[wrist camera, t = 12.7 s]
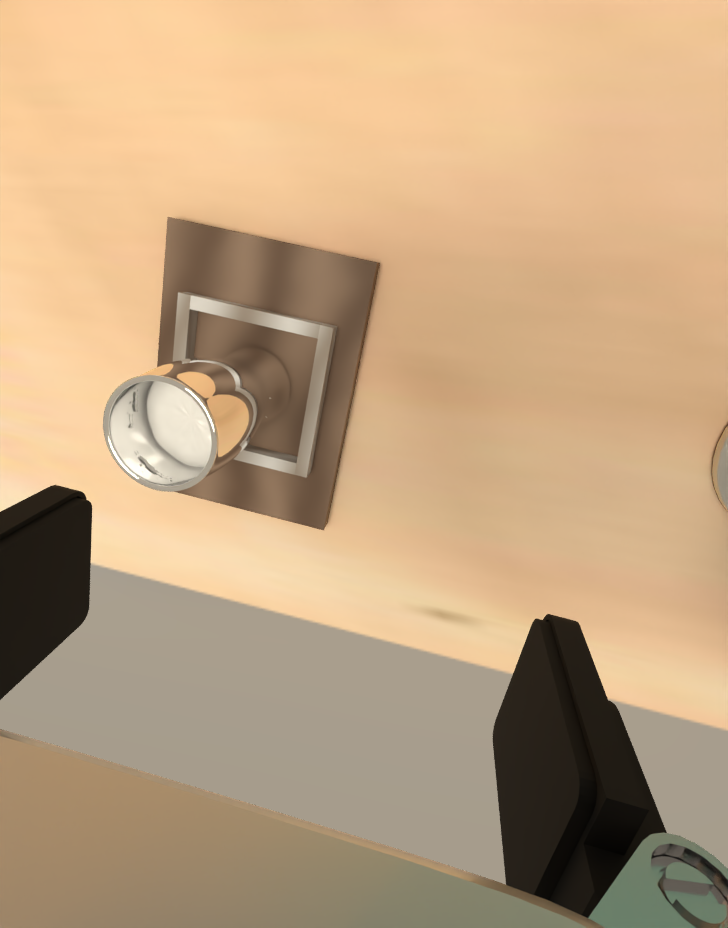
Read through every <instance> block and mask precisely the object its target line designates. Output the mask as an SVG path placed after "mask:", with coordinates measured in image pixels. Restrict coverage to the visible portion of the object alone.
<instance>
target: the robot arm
mask: <svg viewBox="0 0 728 928" xmlns="http://www.w3.org/2000/svg"><path fill="white" fill-rule="evenodd" d="M712 476H713V483H714V488H715V491H716V493H717V496H718V498H719V500H720V502H721V503H722V505H723V506H724V508H725V509H726V510H727V512H728V426H727V427H726V428H725V430H724V432H723V434H722V436H721V438H720V440H719V442H718V444H717V447H716V451H715V454H714V457H713V467H712ZM91 527H92V505H91V503H90V502H89V501H88V500H86V496H85V494H84V493H83V492H80V491H77V490H73V489H69V488H65V487H61V486H57V485H53V486H50V487H48V488H46V489H44V490H42V491H40V492H38V493H36V494H34V495H33V496H31V497H29V498H27V499H25V500H23V501H21V502H19V503H17V504H15V505H13V506H11V507H9V508H7V509H5V510H3V511H1V512H0V700H1V699H2V698H3V697H4V696H5V695H6V694H7V693H8V692H9V691H10V690H11V689H12V688H13V687H15V685H16V684H18V683H19V682H20V681H21V680H22V679H23V678H24V677H25V676H26V675H27V674H28V673H30V671H32V670H33V669H34V668H35V667H36V666H37V665H38V664H39V663H40V662H41V661H42V660H44V659H45V658H46V657H47V656H48V655H49V654H50V653H51V652H52V651H53V650H54V649H55V648H56V647H58V645H60V644H61V643H62V642H63V641H64V640H65V639H66V638H67V637H68V636H69V635H70V634H71V633H72V632H74V631H75V630H76V629H77V628H78V627H79V626H80V625H81V624H82V623H83V621H84V620H85V618H86V616H87V613H88V610H89V594H90V592H89V591H90V560H91ZM493 746H494V747H493V748H494V759H495V769H496V780H497V791H498V802H499V811H500V823H501V834H502V844H503V854H504V866H505V877H506V885H505V884H502V883H499V882H497V881H494V880H491V879H488V878H485V877H482V876H479V875H476V874H473V873H470V872H467V871H464V870H460V869H457V868H454V867H451V866H448V865H445V864H442V863H439V862H436V861H433V860H430V859H427V858H423V857H420V856H417V855H414V854H411V853H408V852H405V851H402V850H399V849H396V848H393V847H389V846H386V845H383V844H379V843H376V842H373V841H370V840H367V839H363V838H360V837H356V836H353V835H350V834H347V833H344V832H341V831H337V830H334V829H331V828H328V827H324V826H321V825H318V824H315V823H311V822H308V821H305V820H302V819H298V818H295V817H292V816H289V815H285V814H282V813H279V812H276V811H272V810H269V809H266V808H262V807H259V806H256V805H253V804H249V803H246V802H243V801H240V800H236V799H233V798H230V797H226V796H223V795H220V794H216V793H213V792H210V791H206V790H203V789H200V788H197V787H193V786H190V785H187V784H183V783H180V782H177V781H173V780H170V779H167V778H163V777H160V776H157V775H153V774H150V773H146V772H143V771H140V770H137V769H133V768H130V767H127V766H123V765H120V764H117V763H113V762H110V761H107V760H103V759H100V758H97V757H93V756H90V755H87V754H83V753H80V752H77V751H73V750H70V749H66V748H63V747H60V746H56V745H53V744H49V743H46V742H42V741H39V740H36V739H32V738H29V737H26V736H22V735H19V734H15V733H12V732H9V731H5V730H2V729H0V928H728V869H727V868H726V867H725V866H724V865H723V864H722V863H721V862H720V861H719V860H718V859H717V858H716V857H714V856H713V855H712V854H710V853H709V852H707V851H706V850H705V849H703V848H702V847H700V846H699V845H697V844H696V843H694V842H691V841H689V840H687V839H685V838H683V837H681V836H678V835H673V834H668V833H667V832H666V830H665V827H664V825H663V822H662V820H661V817H660V815H659V812H658V810H657V807H656V804H655V802H654V799H653V797H652V794H651V792H650V789H649V787H648V784H647V782H646V779H645V776H644V774H643V771H642V769H641V766H640V764H639V761H638V759H637V756H636V754H635V751H634V748H633V746H632V743H631V741H630V738H629V736H628V733H627V731H626V728H625V726H624V723H623V720H622V718H621V715H620V713H619V711H618V709H617V707H616V705H615V704H613V703H612V702H611V701H608V699H607V696H606V694H605V691H604V688H603V686H602V683H601V680H600V678H599V675H598V673H597V670H596V667H595V665H594V662H593V659H592V657H591V654H590V651H589V649H588V646H587V643H586V641H585V638H584V635H583V633H582V630H581V627H580V625H579V623H578V622H576V621H573V620H569V619H565V618H562V617H558V616H554V615H550V614H548V615H546V616H545V617H544V619H543V620H540V619H535V620H534V621H533V623H532V626H531V628H530V631H529V634H528V636H527V639H526V642H525V644H524V647H523V649H522V652H521V655H520V657H519V660H518V663H517V665H516V668H515V671H514V673H513V676H512V678H511V681H510V684H509V686H508V689H507V692H506V694H505V697H504V700H503V702H502V705H501V708H500V710H499V713H498V716H497V718H496V721H495V725H494V730H493Z"/></svg>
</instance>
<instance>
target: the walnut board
mask: <svg viewBox="0 0 728 928" xmlns="http://www.w3.org/2000/svg"><path fill="white" fill-rule="evenodd" d="M379 264H380V263H377V262H372V261H367V260H363V259H358V258H354V257H349V256H344V255H340V254H335V253H331V252H326V251H322V250H317V249H312V248H308V247H303V246H299V245H294V244H290V243H285V242H280V241H276V240H271V239H267V238H262V237H257V236H253V235H248V234H244V233H239V232H235V231H230V230H225V229H221V228H216V227H212V226H207V225H203V224H198V223H193V222H189V221H184V220H180V219H175V218H170V217H168V220H167V235H166V249H165V264H164V278H163V292H162V307H161V321H160V336H159V350H158V364H157V367H159V366H162V365H165V364H168V363H170V362H174V361H178V360H183V359H187V358H201V357H209V358H221V359H224V358H225V357H226V356H227V355H229V354H230V353H231V352H233V351H235V350H237V349H240V348H245V347H256V348H260V349H263V350H266V351H268V352H270V353H271V354H273V355H274V356H275V357H277V358H278V359H279V360H280V362H281V363H282V364H283V366H284V367H285V369H286V371H287V373H288V376H289V380H290V397H289V400H288V403H287V405H286V407H285V409H284V410H283V411H282V412H281V413H280V414H279V415H278V416H277V417H276V418H274V419H272V420H270V421H268V422H265V423H261V424H260V425H259V427H258V429H257V431H256V432H255V434H254V436H253V437H252V439H251V440H250V442H249V443H248V444H247V446H246V447H245V448H244V449H243V451H242V452H241V453H239V454H238V455H237V456H236V457H235V458H234V459H233V460H232V461H231V462H229V463H228V464H227V465H225V466H224V467H222V468H221V469H220V470H218V471H216V472H215V473H213V474H211V475H210V476H208V477H206V478H204V479H203V480H201V481H200V482H199V483H197V484H196V485H194V486H192V487H190V488H187V489H184V490H181V491H174V492H178V493H182V494H186V495H189V496H193V497H197V498H201V499H205V500H209V501H213V502H216V503H220V504H224V505H228V506H232V507H236V508H240V509H244V510H247V511H251V512H255V513H259V514H263V515H267V516H271V517H275V518H278V519H282V520H286V521H290V522H294V523H298V524H302V525H306V526H309V527H313V528H317V529H321V530H324V528H325V526H326V525H327V522H328V517H329V512H330V507H331V502H332V497H333V492H334V487H335V482H336V477H337V472H338V467H339V463H340V458H341V453H342V448H343V443H344V438H345V433H346V428H347V423H348V418H349V413H350V408H351V403H352V398H353V393H354V388H355V383H356V378H357V373H358V368H359V363H360V358H361V353H362V348H363V343H364V338H365V333H366V328H367V324H368V319H369V314H370V309H371V304H372V299H373V294H374V289H375V284H376V279H377V274H378V269H379Z"/></svg>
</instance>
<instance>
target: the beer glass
mask: <svg viewBox="0 0 728 928" xmlns="http://www.w3.org/2000/svg"><path fill="white" fill-rule="evenodd" d="M289 397H290V380H289V376H288V373H287V371H286V369H285V367H284V366H283V364H282V363H281V362H280V360H279V359H278V358H277V357H275V356H274V355H273V354H271V353H270V352H268V351H266V350H263V349H260V348H256V347H245V348H240V349H237V350H235V351H233V352H231V353H230V354H229V355H227V356H226V357H225V358H224V359H221V358H209V357H201V358H187V359H183V360H178V361H174V362H170V363H168V364H165V365H162V366H159V367H157V368H154V369H152V370H150V371H148V372H146V373H144V374H142V375H140V376H137V377H134V378H131V379H129V380H127V381H125V382H124V383H122V384H121V385H120V386H119V387H118V388H117V389H116V390H115V391H114V392H113V393H112V395H111V396H110V398H109V400H108V402H107V404H106V407H105V411H104V417H103V429H104V436H105V440H106V443H107V446H108V449H109V451H110V453H111V455H112V456H113V458H114V460H115V461H116V463H117V464H118V465H119V466H120V468H121V469H122V470H123V471H124V472H125V473H126V474H127V475H128V476H130V477H131V478H132V479H134V480H135V481H137V482H138V483H140V484H142V485H144V486H146V487H149V488H151V489H155V490H159V491H167V492H173V491H181V490H184V489H187V488H190V487H192V486H194V485H196V484H197V483H199V482H200V481H201V480H203V479H204V478H206V477H208V476H210V475H211V474H213V473H215V472H216V471H218V470H220V469H221V468H222V467H224V466H225V465H227V464H228V463H229V462H231V461H232V460H233V459H234V458H235V457H236V456H237V455H238V454H239V453H241V452H242V451H243V449H244V448H245V447H246V446H247V444H248V443H249V442H250V440H251V439H252V437H253V436H254V434H255V432H256V431H257V429H258V427H259V425H260V424H261V423H265V422H268V421H270V420H272V419H274V418H276V417H277V416H278V415H279V414H280V413H281V412H282V411H283V410H284V409H285V407H286V405H287V403H288V400H289Z"/></svg>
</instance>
